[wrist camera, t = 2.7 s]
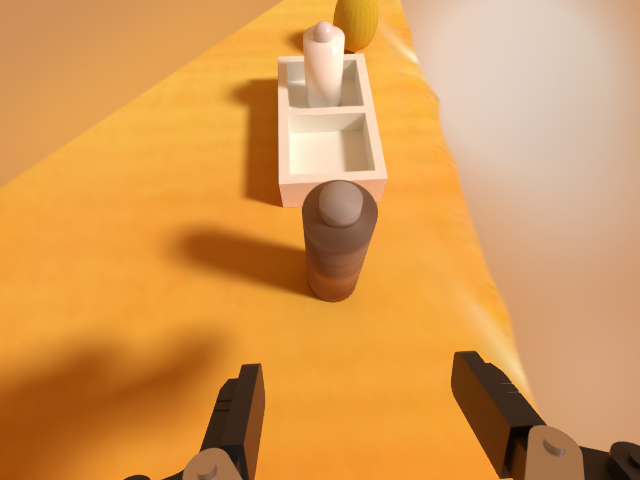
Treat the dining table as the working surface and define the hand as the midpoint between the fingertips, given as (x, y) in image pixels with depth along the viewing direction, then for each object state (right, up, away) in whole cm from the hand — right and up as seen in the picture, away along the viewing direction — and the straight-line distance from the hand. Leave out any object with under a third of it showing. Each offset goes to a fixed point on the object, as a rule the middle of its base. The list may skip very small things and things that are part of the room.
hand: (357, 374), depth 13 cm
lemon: (+3, +31, +31) cm, 44 cm away
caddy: (-1, +17, +24) cm, 29 cm away
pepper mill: (0, +2, +16) cm, 16 cm away
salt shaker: (-1, +22, +24) cm, 32 cm away
